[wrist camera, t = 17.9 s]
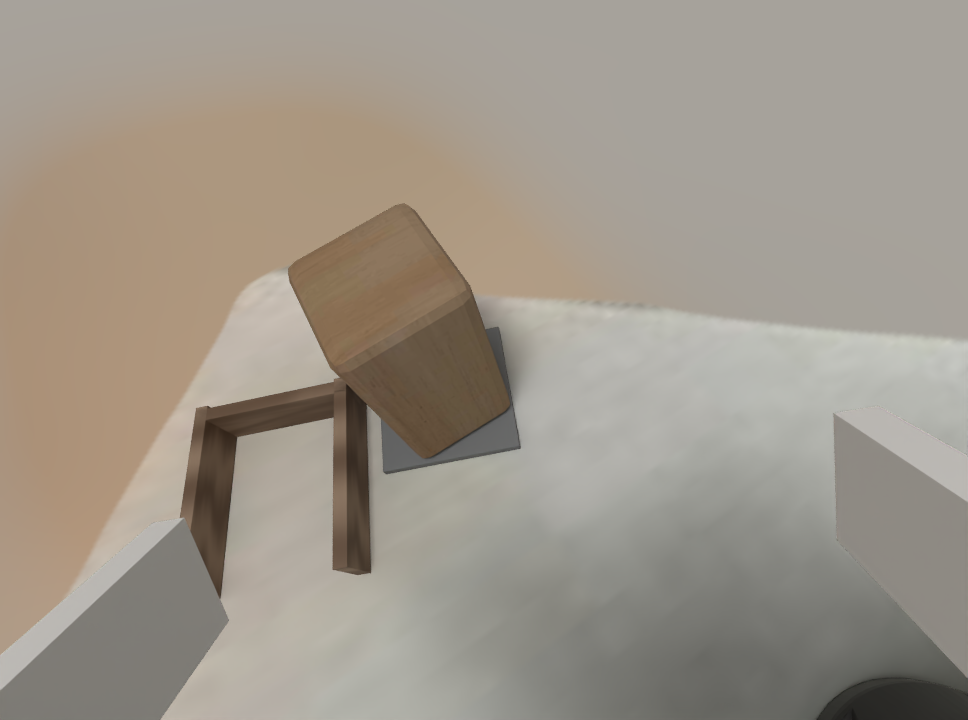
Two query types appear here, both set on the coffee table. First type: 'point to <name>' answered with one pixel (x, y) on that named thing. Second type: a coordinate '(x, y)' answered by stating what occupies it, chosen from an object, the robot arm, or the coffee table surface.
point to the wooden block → (402, 329)
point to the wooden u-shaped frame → (227, 422)
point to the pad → (477, 443)
